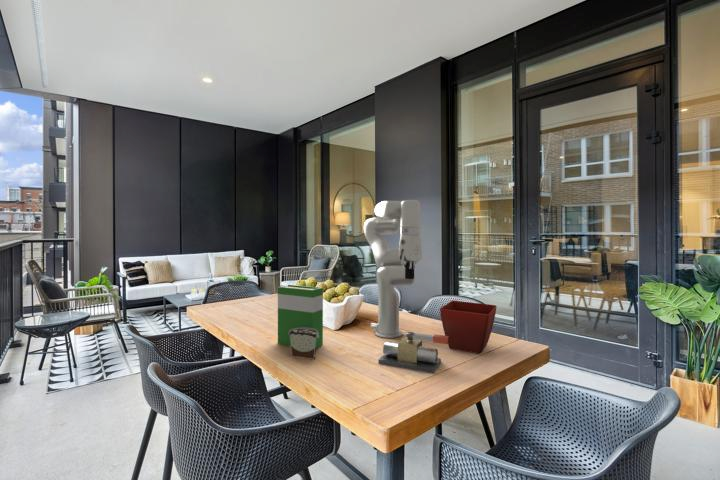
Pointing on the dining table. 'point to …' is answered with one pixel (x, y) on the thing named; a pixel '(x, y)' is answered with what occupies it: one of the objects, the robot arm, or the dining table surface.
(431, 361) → the valve body
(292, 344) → the food container
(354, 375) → the dining table surface
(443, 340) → the valve lever
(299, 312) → the green cereal box
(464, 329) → the plant pot
